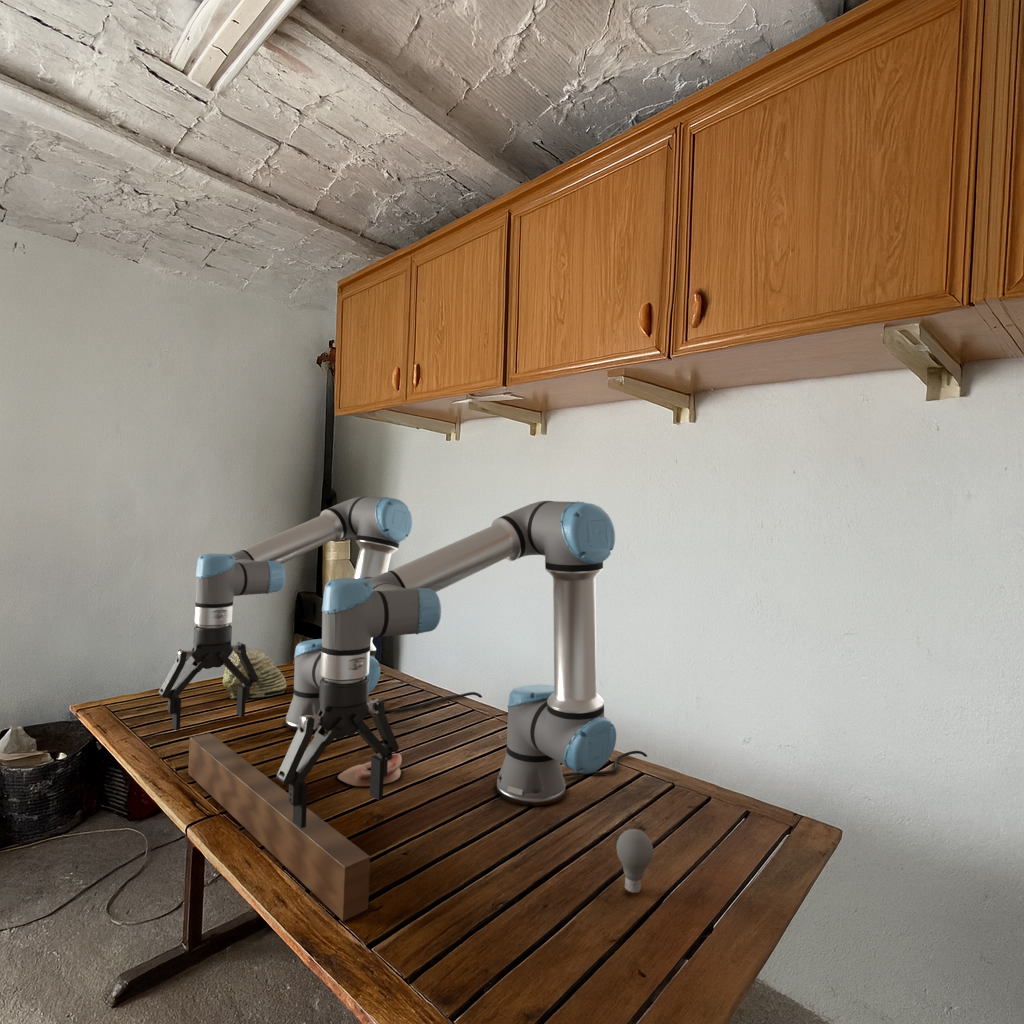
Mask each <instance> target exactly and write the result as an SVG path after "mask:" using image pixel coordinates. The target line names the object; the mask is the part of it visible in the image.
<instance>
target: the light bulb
mask: <svg viewBox="0 0 1024 1024" xmlns="http://www.w3.org/2000/svg"><path fill="white" fill-rule="evenodd" d="M615 849H616V854H617V857H618V859H619V861H620V863H621V865H622V867H623V873H624V874H623V875H624V876H625V878H624V888H625V890H627V891H628V892H630V893H634V894H635V893H639V892H640V891H641V889H642V887H641V886H642V879H643V877H644V875H645V871H646V868H647V867H648V866H649V864H650V863H651V861H652V859H653V855H654V847H653V843H652V841H651V838H649V836H648V835H647V834H646V833H645V832H643V831H642V830H641V829H636V828H629V829H627V830H625V831H623V832H622V833H621V834H620V835H619V837H618V839H617V841H616V847H615Z"/></svg>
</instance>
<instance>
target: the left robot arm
mask: <svg viewBox="0 0 1024 1024" xmlns="http://www.w3.org/2000/svg"><path fill="white" fill-rule="evenodd" d="M412 529H413V517H412V513H411V511H410V510H409V507H408V505H407V504H406V503H405V502H404V501H402V500H401V499H397V498H393V497H387V496H384V497H383V496H381V497H379V496H357V497H353V498H350V499H347V500H345V501H342V502H340V503H337V504H335V505H333V506H331V507H328V508H325V509H323V510H322V511H320V514H319V516H316V517H314V518H312V519H310V520H307V521H305V522H303V523H300V524H298V525H296V526H293V527H291V528H289V529H287V530H284V531H282V532H280V533H277V534H275V535H273V536H270V537H267V538H266V539H263V540H261V541H259V542H257V543H254V544H252V545H250V546H248V547H245V548H243V549H240V550H238V551H235V552H233V553H231V554H230V553H205V554H201V555H200V556H199V557H198V558H197V563H196V571H195V605H194V619H193V620H194V622H193V623H194V624H195V626H194V628H193V646H192V649H191V650H183V649H180V648H179V649H178V650H177V651H176V656H175V661H174V662H173V663H172V665H171V667H170V670H169V672H168V674H167V675H166V677H165V678H164V681H163V683H162V684H161V686H160V687H159V690H158V691H157V692H158V693H157V694H158V695H159V696H160V697H162V698H163V699H167V712H168V714H170V715H171V728H173V730H175V731H179V730H181V714H182V698H181V697H180V695H181V694H182V692H183V691H184V690H185V689H186V687H187V686H188V685H189V684H190V683H191V681H192V680H193V679H194V678H195V677H196V675H197V674H199V673H200V672H201V671H202V670H203V669H205V670H209V669H212V668H221V667H222V666H224V667H225V668H226V667H227V669H228V670H229V671H230V672H231V673H232V674H233V675H234V676H235V677H236V678H237V679H238V680H239V681H240V682H241V683H242V685H238V691H237V698H236V715H238V716H239V717H241V718H242V717H243V718H244V717H246V701H249V699H250V698H249V694H250V687H251V686H252V684H253V683H254V682H258V680H259V678H258V676H257V674H256V672H255V670H254V668H253V666H252V664H251V662H250V660H249V658H248V656H247V654H246V647H247V645H246V644H245V643H242V642H241V641H239V642H237V643H235V644H232V639H233V638H232V636H233V626H232V625H231V623H233V611H234V610H233V609H234V597H239V596H248V595H249V596H250V595H251V596H252V595H263V594H264V595H265V594H266V595H269V594H272V593H278V592H280V591H281V590H282V589H283V588H284V586H285V584H286V570H285V567H284V565H283V564H285V563H287V562H289V561H291V560H293V559H296V558H298V557H300V556H302V555H304V554H307V553H308V552H310V551H313V550H315V549H317V548H318V547H322V546H323V545H325V544H328V543H329V542H334V543H338V542H340V541H342V540H344V539H350V538H356V539H355V542H356V544H357V546H358V547H359V551H358V556H357V560H356V564H355V568H354V573H353V577H352V578H360V577H373V578H374V577H376V576H378V575H381V574H383V573H386V572H388V571H389V567H390V563H391V558H392V555H394V553H396V552H397V551H399V546H400V543H401V542H402V541H405V540H406V539H407V537H409V535H410V534H411V531H412ZM373 639H374V637H372V638H371V644H370V661H369V674H368V675H367V676H366V677H367V678H368V679H369V692H368V694H370V693H372V691H373V690H374V689H375V688H376V686H377V684H378V682H379V680H380V677H381V666H380V665H379V664H380V663H379V661H378V660H377V659H376V657H375V656H376V653H377V647H376V646H375V645H374V643H373ZM321 650H322V638H317V639H308V640H304V641H300V642H299V643H297V645H296V646H295V650H294V655H293V657H294V672H293V673H294V674H293V695H292V696H293V697H292V699H291V702H290V704H289V708H288V711H287V713H286V715H285V726H286V728H287V729H289V730H291V731H294V732H295V731H296V732H297V730H298V725H299V718H300V716H301V714H307V715H318V713H319V710H320V702H319V693H320V680H321V679H322V678H323V677H322V676H321V675H320V666H321ZM233 652H235V653H236V654H237V655H238V657H239V659H240V661H241V663H242V665H243V667H244V669H245V671H246V673H247V675H248V678H246V677H245V676H244V675H243V674H242V673H241V671H240V670H239V669H238V668H237V667H236V666H235V665H234V664H233V662H232V661H231V660H230V657H231V655H232V653H233ZM191 657H192V659H193V660H192V662H191V663H190V664H189V667H188V668H187V670H185V672H184V673H183V674H182V675H181V676H180V674H181V672H182V671H183V669H184V667H185V665H186V663H187V661H189V659H190V658H191ZM179 676H180V678H179ZM468 696H469V697H470V696H476V697H478V698H479V699H480V698H481V699H482V698H483V695H482V694H481V693H478V692H476V691H470V692H464V693H460V694H453V695H448V696H444V697H440V698H436V699H433V700H430V701H426V702H422V703H419V704H415V705H410V706H404V707H398V708H389V709H384V710H385V714H387V713H397V712H403V711H404V712H405V711H410V710H416V709H419V708H423V707H426V706H427V707H428V706H430V705H432V704H436V703H439V702H444V701H447V700H451V699H458V698H464V697H468ZM368 714H370V713H369V711H368ZM368 714H367V715H368ZM319 727H320V724H319V723H318V724H317V725H316V729H315V730H313V733H316V731H317V730H318V728H319Z"/></svg>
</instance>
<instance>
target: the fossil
mask: <svg viewBox="0 0 1024 1024" xmlns="http://www.w3.org/2000/svg"><path fill="white" fill-rule="evenodd" d="M246 654H247V656H248V658H249V660H250V662H251V664H252V666H253V668H254V670H255V672H256V674H257V676H258V678H259V680H258V682H254V683H253V684H252V686H251V687H250V694H249V699H250V698H264V697H271V696H275V695H281V694H284V693H285V691H286V689H287V687H288V686H287V680H286V678H285V676H284V674H283V673H282V672H281V669H279V668H278V667H277V665H276V663H275V662H274V660H273V659H272V658H271V657H270V656H269V655H268V654H267V653H266V652H265V650H264V649H263V648H260V647H258V648H251V647H247V646H246ZM229 659H230V660H231V661H232V662H233V664H234V665H235V666H236V667H237V668H238V669H239V670H240V671H241V673H242V674H243V675H244V676H245V677H246V678H248V675H247V673H246V671H245V669H244V667H243V665H242V663H241V661H240V659H239V657H238V655H237V654H236V653H235V652H234V651H233V652H232V653H231V655H230V656H229ZM222 676H223V677H222V685H223V687H224V688H225V690H226V691H228V693H229V698H230V699H237V691H238V685H242V683H241V682H240V681H239V680H238V679H237V678H236V677H235V676H234V675H233V674H232V673H231V672H230V671H229V670H228V669H227V667H226V666H225V668H224V671H223V675H222Z"/></svg>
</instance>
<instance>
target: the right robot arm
mask: <svg viewBox="0 0 1024 1024" xmlns="http://www.w3.org/2000/svg"><path fill="white" fill-rule="evenodd" d="M615 544H616V532H615V526H614V523H613V521H612V519H611V517H610V515H609V514H608V513H607V512H606V511H605V509H603V508H602V507H601V506H599V505H597V504H594V503H590V502H585V501H579V500H578V501H558V500H540V501H537V502H533V503H529V504H527V505H525V506H522V507H519V508H517V509H514V510H513V511H511V512H508V513H506V514H503V515H501V516H499V517H497V518H495V519H493V520H492V523H491V525H490V526H488V527H487V528H484V529H481V530H480V531H477V532H475V533H472V534H470V535H468V536H466V537H464V538H461V539H459V540H457V541H455V542H452V543H450V544H447V545H446V546H443V547H441V548H438V549H436V550H434V551H432V552H430V553H429V552H428V553H427V554H425V555H423V556H420V557H418V558H415V559H414V560H410V561H408V562H407V563H405V564H402V565H400V566H398V567H395V568H393V569H390V570H388V572H386V573H383V574H381V575H378V576H376V577H374V578H373V577H360V578H353V577H352V578H351V577H341V578H333V579H331V580H329V581H328V582H326V584H325V586H324V591H323V597H322V606H321V612H322V614H321V615H322V617H321V620H322V621H321V639H322V650H321V666H320V675H321V676H322V677H323V678H322V679H321V680H320V693H319V702H320V710H319V713H318V715H307V714H301V716H300V718H299V725H298V730H297V731H296V732H295V734H294V737H293V738H292V741H291V742H290V745H289V747H288V750H287V751H286V754H285V756H284V758H283V761H282V763H281V765H280V767H279V768H278V771H277V773H276V780H278V781H280V782H281V783H282V784H283V785H285V786H288V794H289V803H290V804H291V805H292V806H293V822H294V823H295V824H296V825H297V826H299V827H300V828H301V829H302V828H304V827H306V811H307V808H308V786H309V785H308V784H309V783H307V782H306V781H305V779H306V778H307V776H308V775H309V774H310V772H311V771H312V769H313V768H314V766H316V763H317V762H318V760H319V759H320V758H321V756H322V754H324V752H325V751H326V749H327V747H328V746H330V745H331V744H332V743H333V741H334V740H340V739H343V738H345V737H352V736H355V734H356V733H357V734H358V735H359V736H360V737H361V738H362V740H363V741H364V742H366V744H367V745H368V746H369V748H371V750H372V751H373V752H374V754H376V755H371V756H370V758H371V759H370V762H371V777H370V786H369V796H371V797H372V798H374V799H375V800H377V801H382V800H383V799H384V784H383V780H384V777H385V776H386V775H387V766H388V760H390V759H391V758H392V754H393V753H396V752H399V749H400V746H399V744H398V741H397V739H396V737H395V734H394V732H393V730H392V727H391V725H390V723H389V720H388V718H387V716H386V713H385V710H386V709H385V702H384V701H382V700H380V699H378V698H376V697H372V698H371V699H370V700H369V693H370V692H369V679H368V678H367V677H366V676H367V675H368V674H369V661H370V644H371V638H372V637H373V638H383V637H392V636H404V635H405V636H406V635H420V634H423V633H430V632H433V631H434V630H436V628H437V627H438V626H439V624H440V621H441V617H442V604H441V600H440V597H439V595H438V592H440V591H442V590H445V589H447V588H449V587H451V586H453V585H456V584H457V583H459V582H461V581H463V580H466V579H467V578H469V577H470V578H471V576H473V575H476V574H479V573H480V572H482V571H484V570H487V569H489V568H491V567H493V566H494V565H497V564H499V563H501V562H503V561H506V560H507V561H510V562H511V561H512V562H514V561H516V560H518V559H521V558H523V557H527V556H544V567H545V571H546V572H547V573H548V574H549V575H550V576H551V577H552V608H553V609H552V612H553V613H552V616H553V685H552V684H525V685H521V686H517V687H515V688H513V689H512V690H511V691H510V692H509V696H508V704H507V725H506V726H507V728H506V752H505V757H504V759H503V762H502V765H501V767H500V770H499V773H498V775H497V779H496V791H497V793H498V795H500V796H501V797H502V798H503V799H505V800H506V801H509V802H511V803H513V804H518V805H522V806H530V807H539V806H547V805H552V804H555V803H557V802H559V801H560V800H562V799H563V798H564V797H565V794H566V781H565V778H566V777H573V776H581V775H608V774H612V773H614V772H616V771H617V770H618V768H619V767H618V766H619V765H618V761H619V760H620V759H622V758H625V757H628V756H630V755H635V754H636V755H637V754H638V755H642V756H643V757H645V758H647V757H648V754H647V753H646V752H644V751H642V750H631V751H627V752H625V753H623V754H622V753H621V754H620V755H618V756H616V757H615V758H614V761H613V762H614V767H613V768H611V769H609V770H601V771H600V769H601V768H603V766H605V765H606V764H607V762H608V760H609V759H610V758H611V756H612V754H613V752H614V750H615V747H616V744H617V730H616V727H615V724H614V723H612V721H611V720H610V719H609V718H607V717H605V700H604V698H602V696H601V695H600V694H599V693H598V692H597V595H596V594H597V591H596V590H597V589H596V588H597V586H596V581H597V580H596V579H597V576H598V575H599V574H600V573H601V572H602V571H603V570H604V562H605V561H607V559H608V558H609V557H610V555H611V551H613V550H614V548H615ZM368 692H369V693H368ZM368 700H369V701H368ZM368 711H369V714H370V716H371V719H372V720H373V722H374V725H375V727H376V728H377V732H378V734H379V736H380V739H381V741H380V739H378V737H377V736H376V735H375V733H373V731H372V730H371V728H370V727H369V726H368V725H367V723H366V722H365V719H366V717H367V716H368ZM318 723H319V724H320V727H319V728H318V730H317V731H316V732H313V730H315V729H316V725H317V724H318ZM313 733H314V734H313ZM325 734H326V735H325ZM312 736H314V737H313V739H312ZM310 741H311V742H310ZM561 764H562V765H564V766H565V767H566V769H568V770H572V772H565V773H563V769H562V766H561Z"/></svg>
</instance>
